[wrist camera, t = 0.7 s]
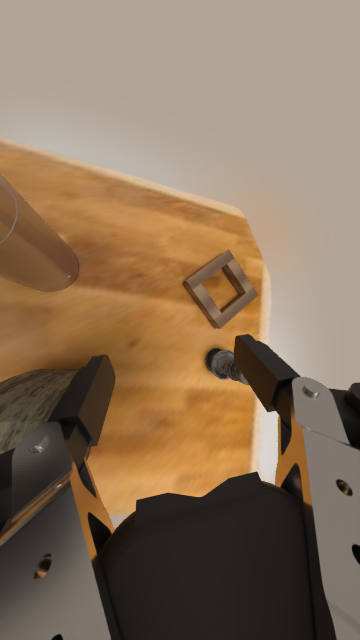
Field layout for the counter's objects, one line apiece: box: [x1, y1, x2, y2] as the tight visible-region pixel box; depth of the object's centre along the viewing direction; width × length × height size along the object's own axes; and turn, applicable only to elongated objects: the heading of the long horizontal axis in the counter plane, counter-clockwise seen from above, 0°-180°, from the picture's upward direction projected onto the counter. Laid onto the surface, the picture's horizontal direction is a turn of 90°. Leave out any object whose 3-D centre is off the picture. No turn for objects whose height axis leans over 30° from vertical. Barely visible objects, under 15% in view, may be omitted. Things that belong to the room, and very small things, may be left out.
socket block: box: [183, 249, 258, 328], centre depth 33 cm, size 12×12×2 cm
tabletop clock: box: [0, 369, 91, 460], centre depth 15 cm, size 14×9×25 cm, turn 175°
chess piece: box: [206, 349, 249, 385], centre depth 28 cm, size 6×6×12 cm
